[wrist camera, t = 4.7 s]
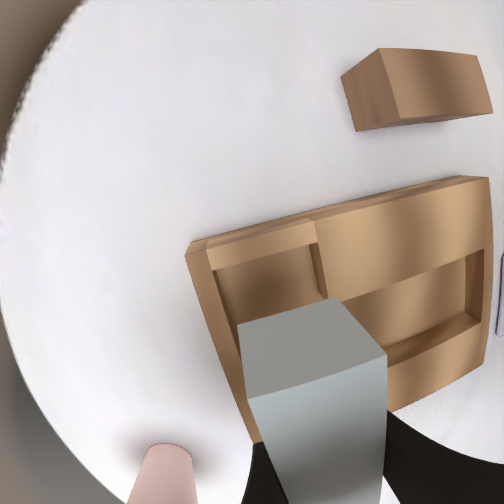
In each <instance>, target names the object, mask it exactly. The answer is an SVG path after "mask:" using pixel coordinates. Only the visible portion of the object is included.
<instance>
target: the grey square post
mask: <svg viewBox="0 0 504 504" xmlns="http://www.w3.org/2000/svg"><path fill="white" fill-rule="evenodd" d="M237 327H238V335H239V343H240V351H241V358H242V366H243V373H244V380H245V388H246V395H247V400H248V403H249V406H250V408H251V411H252V413H253V416H254V419H255V421H256V424H257V426H258V429H259V432H260V434H261V437H262V439H263V442H264V444H265V447H266V449H267V452H268V454H269V457H270V459H271V462H272V464H273V466H274V469H275V471H276V474H277V476H278V478H279V481H280V483H281V486H282V488H283V490H284V493H285V495H286V497H287V499H288V502H289V504H379V501H380V494H381V486H382V477H383V467H384V456H385V442H386V424H387V354H386V353H385V351H384V350H383V349H382V348H381V347H380V346H379V345H378V344H377V342H376V341H375V340H374V339H373V338H372V337H371V336H370V334H369V333H368V332H367V331H366V330H365V329H364V328H363V327H362V326H361V324H360V323H359V322H358V321H357V320H356V319H355V318H354V317H353V315H352V314H351V313H350V312H349V311H348V310H347V309H346V308H345V307H344V306H343V304H342V303H341V302H340V301H339V300H338V299H337V298H336V297H332V298H329V299H326V300H322V301H319V302H316V303H313V304H309V305H306V306H303V307H299V308H296V309H292V310H289V311H286V312H282V313H279V314H275V315H271V316H268V317H264V318H261V319H257V320H253V321H250V322H246V323H242V324H238V325H237Z"/></svg>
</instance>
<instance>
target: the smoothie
mask: <svg viewBox="0 0 504 504" xmlns="http://www.w3.org/2000/svg"><path fill="white" fill-rule="evenodd" d="M127 504H198V502H197V495H196V487H195V480H194V471H193V463H192V457H191V455H190V454H189V453H188V452H187V451H186V450H185V449H183V448H181V447H179V446H176V445H172V444H156V445H153V446H151V447H150V448H149V449H148V451H147V453H146V456H145V458H144V461H143V464H142V466H141V469H140V471H139V474H138V476H137V479H136V481H135V484H134V486H133V489H132V492H131V494H130V497H129V499H128V502H127Z"/></svg>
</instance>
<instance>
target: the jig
mask: <svg viewBox="0 0 504 504" xmlns="http://www.w3.org/2000/svg"><path fill="white" fill-rule="evenodd" d="M185 259H186V262H187V265H188V269H189V272H190V275H191V278H192V281H193V284H194V287H195V290H196V293H197V296H198V299H199V302H200V305H201V308H202V311H203V314H204V317H205V320H206V323H207V326H208V328H209V331H210V334H211V337H212V340H213V343H214V345H215V348H216V351H217V354H218V356H219V359H220V362H221V364H222V367H223V370H224V372H225V375H226V378H227V380H228V383H229V385H230V388H231V391H232V393H233V396H234V398H235V401H236V403H237V406H238V408H239V411H240V413H241V416H242V418H243V420H244V423H245V425H246V428H247V430H248V433H249V435H250V437H251V440H252V442H253V444H255V443H258V442H262V441H263V439H262V437H261V434H260V432H259V429H258V426H257V424H256V421H255V419H254V416H253V413H252V411H251V408H250V406H249V403H248V400H247V395H246V388H245V380H244V373H243V366H242V358H241V351H240V343H239V335H238V327H237V325H238V324H242V323H246V322H250V321H253V320H257V319H261V318H264V317H268V316H271V315H275V314H279V313H282V312H286V311H289V310H292V309H296V308H299V307H303V306H306V305H309V304H313V303H316V302H319V301H322V300H326V299H329V298H332V297H336V298H337V299H338V300H339V301H340V302H341V303H342V304H343V306H344V307H345V308H346V309H347V310H348V311H349V312H350V313H351V314H352V315H353V317H354V318H355V319H356V320H357V321H358V322H359V323H360V324H361V326H362V327H363V328H364V329H365V330H366V331H367V332H368V333H369V334H370V336H371V337H372V338H373V339H374V340H375V341H376V342H377V344H378V345H379V346H380V347H381V348H382V349H383V350H384V351H385V353H386V354H387V410H388V411H390V412H391V413H392V412H394V411H397V410H399V409H401V408H403V407H405V406H407V405H410V404H412V403H414V402H416V401H418V400H420V399H422V398H424V397H426V396H428V395H430V394H432V393H434V392H436V391H437V390H439V389H441V388H443V387H445V386H447V385H449V384H450V383H452V382H454V381H456V380H457V379H459V378H461V377H462V376H464V375H466V374H468V373H469V372H471V371H472V370H474V369H476V368H477V367H479V366H480V365H482V364H483V362H484V356H485V350H486V344H487V337H488V330H489V321H490V312H491V300H492V284H493V223H492V207H491V195H490V186H489V177H477V176H461V175H458V176H454V177H449V178H445V179H440V180H436V181H431V182H427V183H423V184H418V185H414V186H409V187H405V188H401V189H397V190H392V191H388V192H384V193H380V194H375V195H371V196H367V197H363V198H359V199H355V200H351V201H347V202H343V203H339V204H335V205H330V206H326V207H323V208H319V209H315V210H311V211H307V212H303V213H299V214H295V215H291V216H287V217H283V218H280V219H276V220H272V221H268V222H264V223H260V224H257V225H253V226H249V227H245V228H242V229H238V230H234V231H231V232H227V233H223V234H220V235H216V236H212V237H209V238H205V239H201V240H198V241H194V242H191V243H190V245H189V247H188V249H187V251H186V254H185Z"/></svg>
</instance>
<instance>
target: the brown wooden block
mask: <svg viewBox="0 0 504 504" xmlns="http://www.w3.org/2000/svg"><path fill="white" fill-rule="evenodd" d="M340 78H341V81H342V84H343V87H344V91H345V94H346V98H347V101H348V105H349V108H350V112H351V115H352V119H353V123H354V127H355V131H356V132H357V131H364V130H371V129H378V128H385V127H393V126H401V125H410V124H419V123H429V122H441V121H448V120H453V119H459V118H465V117H471V116H478V115H484V114H491V113H493V109H492V105H491V101H490V97H489V94H488V90H487V86H486V83H485V80H484V76H483V73H482V70H481V67H480V64H479V61H478V58H477V56H475V55H468V54H461V53H453V52H444V51H434V50H421V49H401V48H378V49H377V50H375V51H374V52H373V53H371V54H370V55H369V56H367V57H366V58H365V59H363V60H362V61H361V62H359V63H358V64H357V65H355V66H354V67H353V68H351V69H350V70H349V71H348V72H346V73H345V74H344V75H342V76H341V77H340Z"/></svg>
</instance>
